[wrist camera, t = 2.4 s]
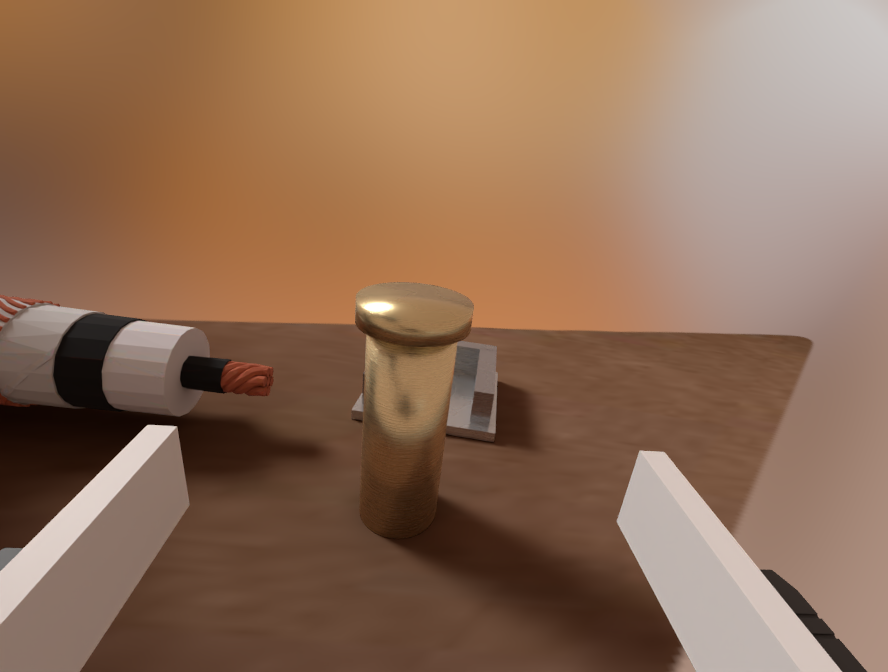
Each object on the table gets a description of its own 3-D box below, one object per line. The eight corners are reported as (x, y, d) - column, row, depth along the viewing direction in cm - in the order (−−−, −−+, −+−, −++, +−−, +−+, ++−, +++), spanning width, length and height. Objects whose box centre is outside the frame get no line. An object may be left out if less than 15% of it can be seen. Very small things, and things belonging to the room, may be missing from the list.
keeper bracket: (351, 418, 34) (352, 378, 32) (384, 362, 43) (386, 329, 42) (493, 442, 33) (501, 402, 32) (496, 380, 42) (502, 347, 41)
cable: (266, 468, 32) (222, 438, 23) (-240, 413, 30) (-507, 356, 21) (297, 345, 37) (271, 280, 28) (-141, 288, 34) (-326, 197, 25)
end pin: (335, 536, 24) (338, 310, 19) (365, 468, 29) (374, 277, 24) (437, 555, 23) (469, 329, 18) (450, 483, 28) (477, 291, 23)
